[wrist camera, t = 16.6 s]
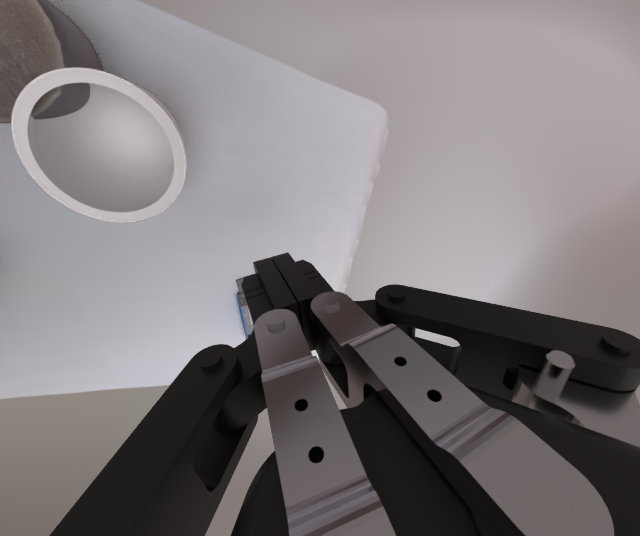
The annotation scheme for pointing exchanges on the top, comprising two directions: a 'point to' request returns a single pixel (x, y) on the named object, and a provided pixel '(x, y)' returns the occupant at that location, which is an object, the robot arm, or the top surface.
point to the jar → (102, 147)
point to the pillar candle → (41, 57)
